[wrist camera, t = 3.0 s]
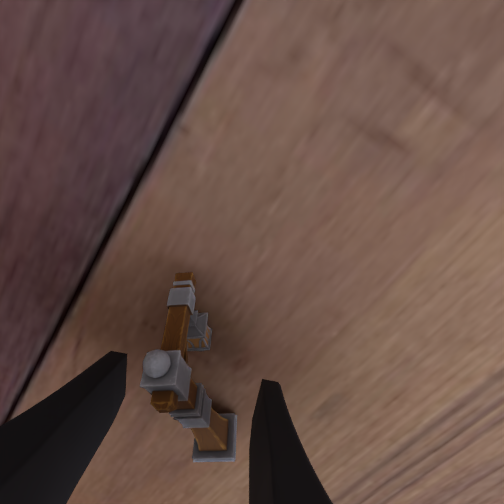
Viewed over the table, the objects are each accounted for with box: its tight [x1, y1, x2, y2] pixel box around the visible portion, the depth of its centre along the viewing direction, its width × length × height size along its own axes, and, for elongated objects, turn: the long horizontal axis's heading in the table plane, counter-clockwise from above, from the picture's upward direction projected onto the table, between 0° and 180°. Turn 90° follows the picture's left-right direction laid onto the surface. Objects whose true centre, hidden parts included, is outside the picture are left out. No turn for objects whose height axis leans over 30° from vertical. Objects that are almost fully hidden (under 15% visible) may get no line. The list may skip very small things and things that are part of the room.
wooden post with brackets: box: [140, 272, 237, 462], centre depth 12 cm, size 2×8×4 cm, turn 6°
